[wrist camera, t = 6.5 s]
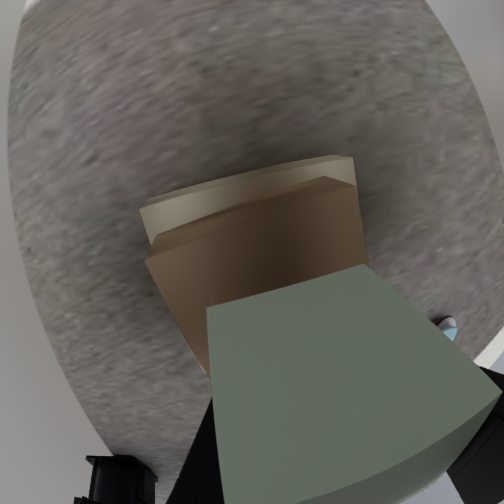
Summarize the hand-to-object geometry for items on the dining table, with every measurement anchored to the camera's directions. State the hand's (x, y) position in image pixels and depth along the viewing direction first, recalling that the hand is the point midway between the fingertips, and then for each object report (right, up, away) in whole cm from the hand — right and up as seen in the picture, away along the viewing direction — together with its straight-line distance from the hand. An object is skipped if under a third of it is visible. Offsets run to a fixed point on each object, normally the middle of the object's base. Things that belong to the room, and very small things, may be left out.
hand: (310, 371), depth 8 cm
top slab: (-1, +2, +6) cm, 6 cm away
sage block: (0, 0, +1) cm, 1 cm away
